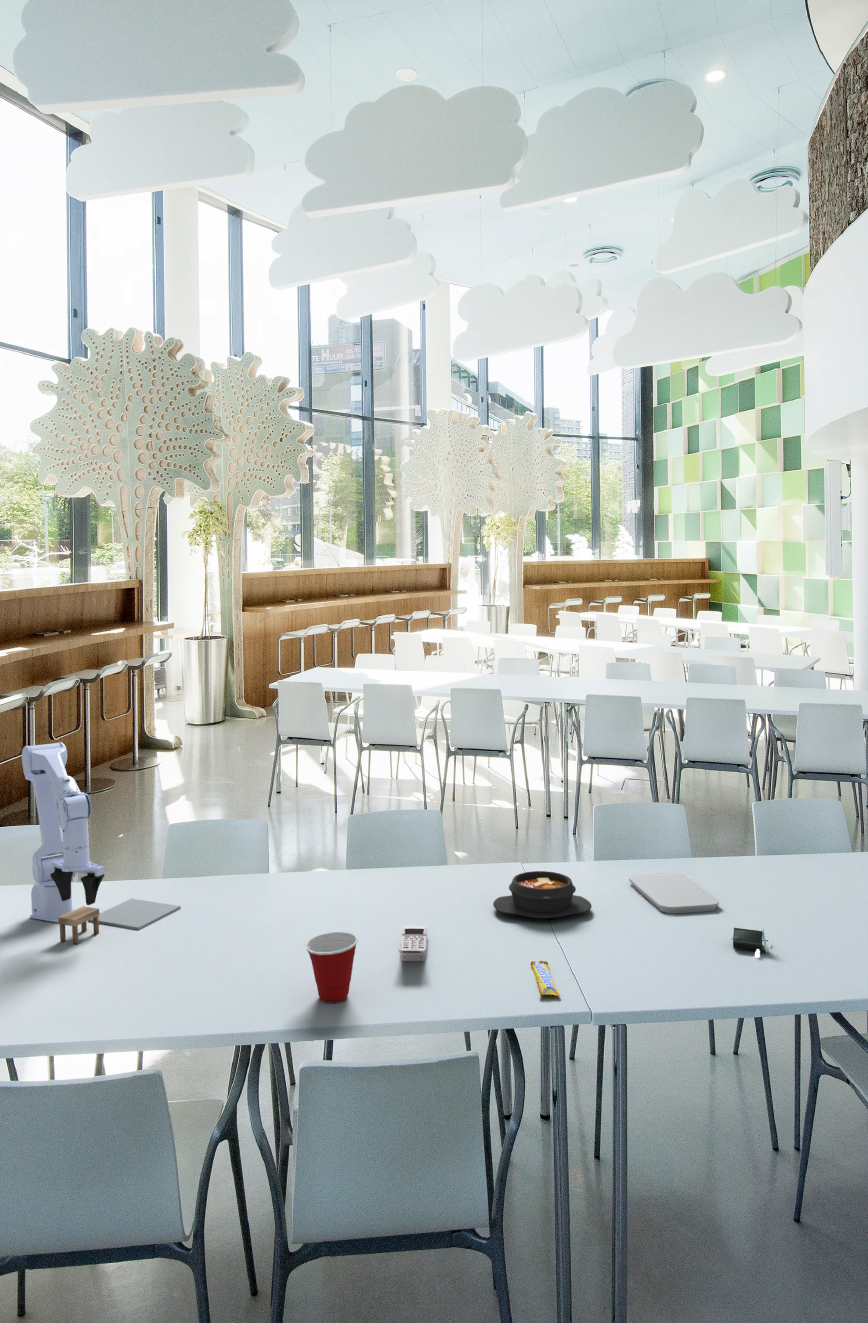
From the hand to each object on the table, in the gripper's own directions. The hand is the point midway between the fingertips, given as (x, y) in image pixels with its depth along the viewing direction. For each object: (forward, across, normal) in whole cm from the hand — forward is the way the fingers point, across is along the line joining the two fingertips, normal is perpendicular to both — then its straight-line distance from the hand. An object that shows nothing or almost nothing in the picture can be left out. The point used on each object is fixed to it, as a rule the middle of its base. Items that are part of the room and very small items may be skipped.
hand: (78, 901), depth 220 cm
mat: (+9, +2, +17) cm, 19 cm away
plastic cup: (+9, +72, -6) cm, 73 cm away
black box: (+10, +148, +52) cm, 157 cm away
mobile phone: (+9, +78, +21) cm, 81 cm away
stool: (+9, 0, 0) cm, 9 cm away
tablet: (+10, +127, +81) cm, 151 cm away
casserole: (+9, +98, +57) cm, 114 cm away
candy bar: (+10, +110, +17) cm, 112 cm away
